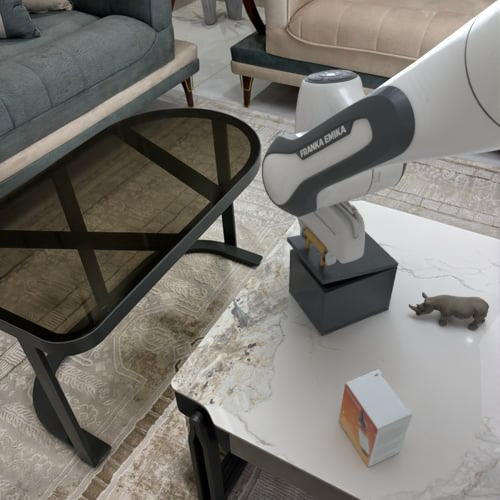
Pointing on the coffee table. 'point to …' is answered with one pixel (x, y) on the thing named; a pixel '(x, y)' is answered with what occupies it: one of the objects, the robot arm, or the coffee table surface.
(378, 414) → the small box
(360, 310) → the bin
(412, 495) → the coffee table surface
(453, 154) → the robot arm
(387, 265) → the bin lid
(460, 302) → the rhino figurine
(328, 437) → the coffee table surface
